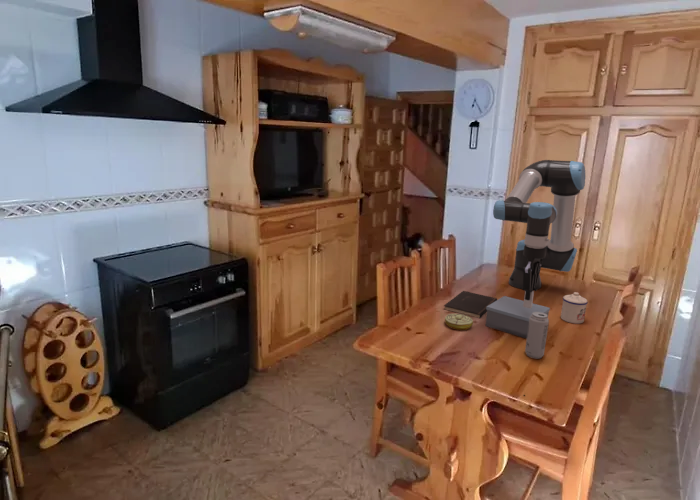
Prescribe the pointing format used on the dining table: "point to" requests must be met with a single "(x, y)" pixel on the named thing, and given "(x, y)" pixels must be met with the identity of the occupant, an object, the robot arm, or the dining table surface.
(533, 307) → the gray box lid
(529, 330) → the energy drink can
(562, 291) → the dining table surface
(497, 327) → the grey hinged box
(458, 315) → the olive round disc
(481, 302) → the hardcover book
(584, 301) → the teacup with lid
